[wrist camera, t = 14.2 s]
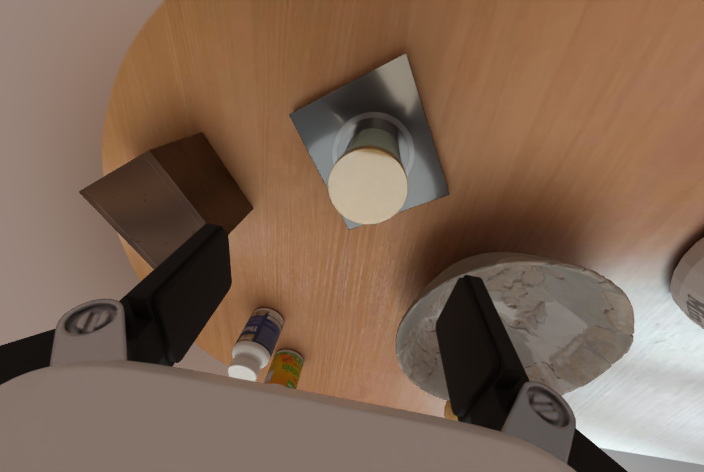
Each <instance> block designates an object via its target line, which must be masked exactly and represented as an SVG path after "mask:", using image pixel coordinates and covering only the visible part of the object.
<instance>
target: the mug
mask: <svg viewBox="0 0 704 472" xmlns="http://www.w3.org/2000/svg"><path fill="white" fill-rule="evenodd" d="M670 290H671V293H672V297H673V300H674V301H675V302H676V304H677V305H678V306H679V307H680V309H681V310H682V311H683V312H684V313H685V314H686V315H687V316H688V317H689V318H690V319H691V320H692V321H693V322H695V323H696V324H697V325H699V326H700V327H702V328H703V329H704V237H703V238H702V239H700V240H699V241H697V242H696V243H695V244H694V245H693V246H692V247H691V248H690V249H689V250H688V251H687V252H686V253H685V254H684V255H683V257H682V259H681V260H680V262H679V264H678V265H677V267H676V269H675V271H674V273H673V276H672V281H671V286H670Z"/></svg>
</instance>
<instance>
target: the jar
mask: <svg viewBox="0 0 704 472" xmlns="http://www.w3.org/2000/svg"><path fill="white" fill-rule="evenodd" d="M328 194H329V197H330V200H331V202H332V204H333V206H334V207H335V209H336V210H337V211H338V212H339V213H340V214H341V215H342V216H344V217H345V218H347V219H348V220H350V221H353V222H355V223H359V224H367V225H369V224H378V223H381V222H384V221H386V220H388V219H390V218H392V217H393V216H394V215H395V214H396V213H397V212H399V210H400V209H401V208H402V206H403V205H404V203H405V200H406V197H407V194H408V180H407V175H406V171H405V169H404V167H403V165H402V161H401V155H400V149H399V146H398V144H397V142H396V140H395V139H394V138H393V136H391V135H390V134H389V133H388V132H386V131H384V130H381V129H377V128H370V129H365V130H362V131H360V132H358V133H357V134H356V135H354V136H353V137H352V139H351V140H350V142H349V143H348V145H347V147H346V149H345V151H344V153H343V155H342V156H341V157H340V158H339V159H338V160H337V161H336V163H335V164H334V166H333V168H332V170H331V172H330V175H329V178H328Z"/></svg>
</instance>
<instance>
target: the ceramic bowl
mask: <svg viewBox="0 0 704 472" xmlns="http://www.w3.org/2000/svg"><path fill="white" fill-rule="evenodd" d="M464 275H471V276H476V277H480V278H481V279H482V280H483V282H484V284H485V286H486V289H487V291H488V293H489V295H490V297H491V299H492V301H493V303H494V306H495V308H496V310H497V312H498V314H499V316H500V318H501V320H502V323H503V325H504V327H505V329H506V331H507V333H508V335H509V338H510V340H511V342H512V344H513V346H514V348H515V350H516V352H517V355H518V357H519V359H520V361H521V363H522V365H523V367H524V370H525V372H526V374H527V376H528V378H529V380H530V381H537V382H540V383H543V384H545V385H547V386H549V387H550V388H552V389H553V390H555V391H556V392H557V393H558V394H559V395H563V394H565V393H568V392H571V391H573V390H575V389H577V388H579V387H582V386H584V385H586V384H588V383H589V382H591V381H592V380H594V379H595V378H597V377H598V376H599V375H601V374H602V373H604V372H605V371H606V370H607V369H609V368H610V367H611V365H612V364H614V363H615V362H616V361H618V360H619V359H620V358H622V357H623V355H624V354H625V353H627V352H628V351H629V349H630V346H631V344H632V342H633V335H632V334H634V313H633V308H632V305H631V303H630V301H629V299H628V297H627V296H626V294H625V293H624V292H623V291H622V290H621V289H620V288H619V287H617V286H616V285H615V284H614V283H613V282H612V281H610V280H608V279H606V278H605V277H604V276H602V275H600V274H598V273H597V272H595V271H592V270H590V269H587V268H585V267H582V266H578V265H573V264H569V263H566V262H562V261H559V260H555V259H552V258H548V257H543V256H537V255H531V254H523V253H516V252H489V253H483V254H478V255H474V256H471V257H467V258H465V259H462V260H460V261H458V262H456V263H454V264H452V265H451V266H449V267H448V268H446V269H445V270H443V271H442V272H441V273H440V274H439V275H438V276H436V277H435V278H434V279H433V280H432V281H431V282H430V283H429V284H428V285H427V286H426V287H425V288H424V289H423V290H422V291H421V293H420V294H419V295H418V296H417V298H416V299H415V300H414V302H413V303H412V304H411V306H410V307H409V309H408V310H407V312H406V313H405V315H404V317H403V318H402V320H401V322H400V324H399V327H398V330H397V335H396V354H397V355H398V362H399V366H400V368H401V369H402V371H403V373H404V374H405V375H406V376H408V378H409V380H410V381H411V382H412V383H414V384H416V385H417V386H419V387H420V388H421V389H422V390H424V391H425V392H427V393H429V394H431V395H434V396H436V397H439V398H442V399H445V400H448V401H450V399H449V394H448V389H447V384H446V379H445V374H444V369H443V364H442V360H441V355H440V350H439V345H438V340H437V335H436V329H435V327H436V322H437V320H438V318H439V316H440V314H441V312H442V310H443V308H444V306H445V304H446V302H447V300H448V298H449V296H450V294H451V292H452V290H453V288H454V286H455V284H456V282H457V280H458V279H459V278H460V277H462V278H463V276H464Z"/></svg>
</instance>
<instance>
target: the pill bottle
mask: <svg viewBox="0 0 704 472" xmlns="http://www.w3.org/2000/svg"><path fill="white" fill-rule="evenodd" d="M283 325H284V321H283V318H282V317H281V315H280V314H279V313H277V312H276V311H274V310H272V309H269V308H260V309H257V310H255V311H254V312H253V314H252V315H251V317H250V319H249V321H248V322H247V324H246V326H245V328H244V330H243V331H242V333H241V335H240V337H239V339H238V340H237V342H236V344H235V346H234V348H233V350H232V356H233V360H232V362H231V364H230V366H229V368H228V374H229V375H230V376H231V377H233V378H238V379H243V380H249V381H255V380H256V378H257V376H258V374H259V372H260V369H261V368H263V367H265V366H266V365H267V364H268V362H269V360H270V358H271V355H272V353H273V350H274V348H275V345H276V343H277V340H278V338H279V335H280V333H281V331H282V328H283Z"/></svg>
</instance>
